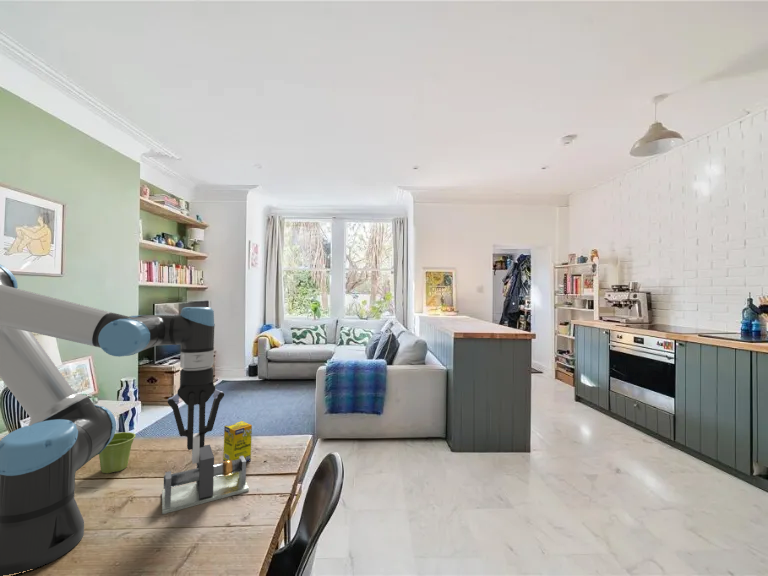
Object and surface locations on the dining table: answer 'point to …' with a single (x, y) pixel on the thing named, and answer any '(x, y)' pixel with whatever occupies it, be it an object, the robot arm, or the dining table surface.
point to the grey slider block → (205, 472)
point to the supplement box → (237, 441)
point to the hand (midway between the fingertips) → (195, 460)
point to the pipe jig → (189, 493)
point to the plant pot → (116, 453)
